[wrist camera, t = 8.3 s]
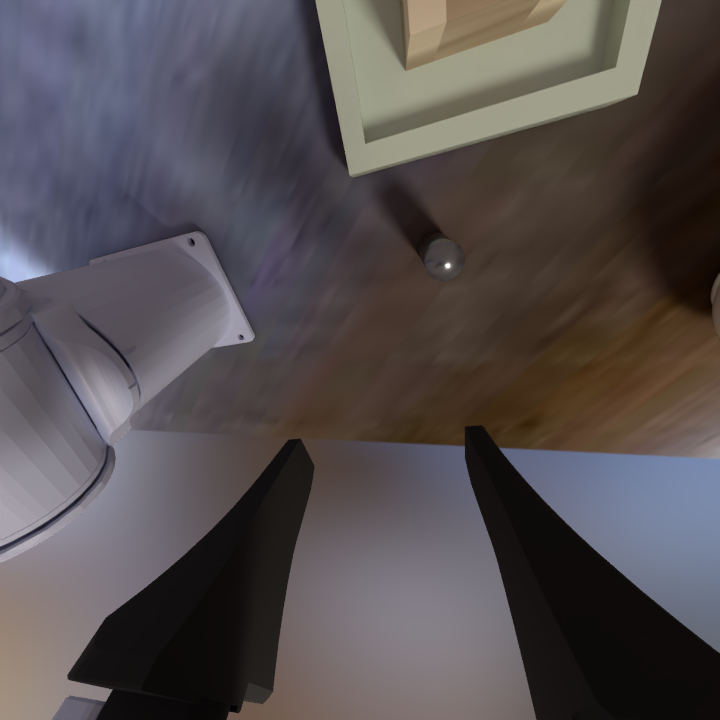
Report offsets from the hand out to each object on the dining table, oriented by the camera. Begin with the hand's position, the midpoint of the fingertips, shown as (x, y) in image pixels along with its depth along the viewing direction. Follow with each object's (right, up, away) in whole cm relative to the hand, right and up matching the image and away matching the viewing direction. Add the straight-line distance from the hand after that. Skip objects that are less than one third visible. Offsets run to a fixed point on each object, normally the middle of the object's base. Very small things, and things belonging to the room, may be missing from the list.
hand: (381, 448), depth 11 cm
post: (+4, +11, +4) cm, 12 cm away
